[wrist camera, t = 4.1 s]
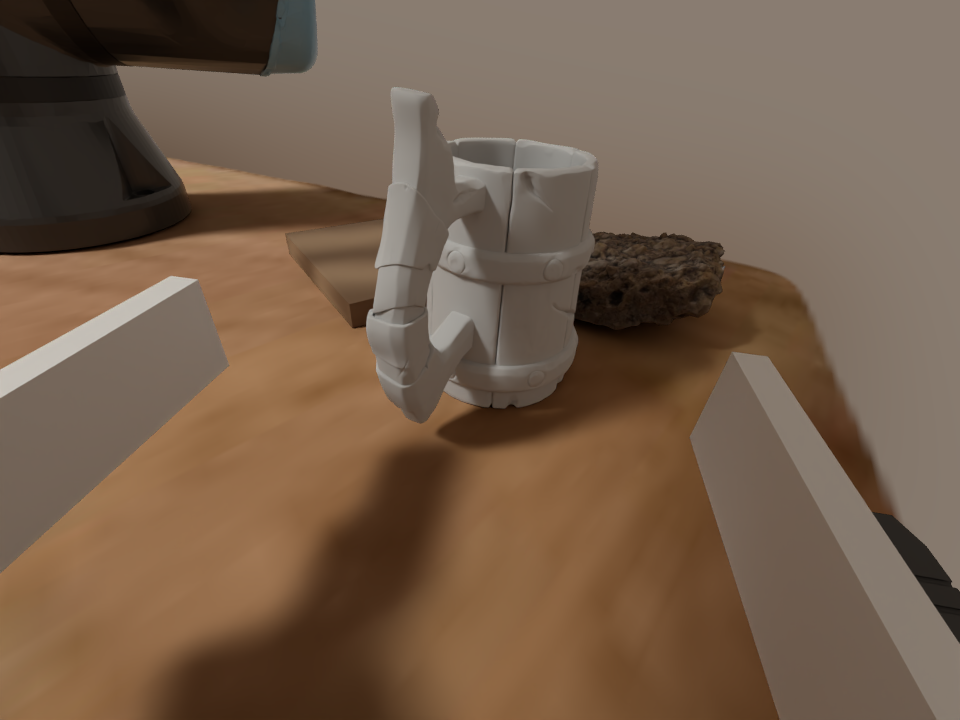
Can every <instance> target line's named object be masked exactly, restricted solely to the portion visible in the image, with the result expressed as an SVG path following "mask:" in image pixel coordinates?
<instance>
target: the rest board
mask: <svg viewBox="0 0 960 720" xmlns="http://www.w3.org/2000/svg"><path fill="white" fill-rule="evenodd" d="M383 222H384V219H379V220H373V221H366V222H359V223H353V224H346V225H339V226H333V227H326V228H320V229H313V230H306V231H300V232H293V233H286V234H285V235H286V240H287V244H288V249H289V254H290V255H291V256H292V257H293V258H294V260H295V261H296V262H297V263H298V264H299V265H300V267H301V268H302V269H303V270H304V271H305V273H306V274H307V275H308V276H309V277H310V278H311V280H312V281H313V282H314V283H315V284H316V285H317V287H318V288H319V289H320V290H321V291H322V293H323V294H324V295H325V296H326V297H327V298H328V300H329V301H330V302H331V303H332V304H333V306H334V307H335V308H336V309H337V310H338V311H339V313H340V314H341V315H342V316H343V317H344V318H345V320H346V321H347V322H348V323H349V324H350V326H351V327H352V328H355V327H358V326H362V325H366V321H367V315H368V312H369V310H370V309H373V304H374V297H375V291H376V284H377V277H378V270H379V269H376V268H375V262H376V258H377V254H378V251H379V247H380V243H381V238H382V231H383ZM425 307H426V308H427V298H426V304H425Z"/></svg>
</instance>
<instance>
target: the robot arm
mask: <svg viewBox="0 0 960 720" xmlns="http://www.w3.org/2000/svg"><path fill="white" fill-rule="evenodd" d="M316 58H317V24H316V9H315V0H0V252H43V251H56V250H67V249H75V248H83V247H90V246H96V245H102V244H108V243H113V242H118V241H122V240H127V239H131V238H135V237H139V236H142V235H146V234H149V233H152V232H155V231H158V230H161V229H164V228H166V227H169V226H171V225H173V224H175V223H177V222H179V221H181V220H182V219H184V218H185V217H186V216H187V215H188V214H189V213H190V212H191V204H190V201H189V198H188V195H187V192H186V189H185V186H184V184H183V182H182V180H181V178H180V177H179V176H178V174H177V173H176V171H175V170H174V168H173V167H172V166H171V164H170V163H169V161H168V160H167V159H166V157H165V156H164V155H163V153H162V151H161V150H160V149H159V147H158V146H157V144H156V143H155V142H154V140H153V139H152V137H151V136H150V134H149V133H148V132H147V130H146V129H145V127H144V126H143V125H142V123H141V122H140V121H139V119H138V118H137V116H136V115H135V113H134V112H133V110H132V108H131V106H130V104H129V101H128V99H127V96H126V94H125V91H124V88H123V86H122V83H121V80H120V78H119V75H118V71H117V68H116V65H117V66H139V67H154V68H168V69H182V70H196V71H211V72H226V73H239V74H255V75H260V76H265V77H266V76H269V75H270V74H282V73H303V72H306V71H308V70H309V69H311V68H312V66H313V65H314V63H315V61H316ZM228 366H229V363H228V360H227V358H226V355H225V352H224V350H223V347H222V344H221V341H220V339H219V336H218V333H217V330H216V328H215V325H214V322H213V319H212V317H211V314H210V311H209V308H208V306H207V303H206V300H205V297H204V295H203V292H202V289H201V287H200V284H199V281H198V280H197V279H190V278H182V277H175V276H170V277H168V278H166V279H164V280H163V281H161V282H159V283H157V284H155V285H154V286H152V287H150V288H148V289H146V290H144V291H143V292H141V293H139V294H137V295H135V296H134V297H132V298H130V299H128V300H126V301H124V302H123V303H121V304H119V305H117V306H115V307H114V308H112V309H110V310H108V311H106V312H104V313H103V314H101V315H99V316H97V317H95V318H93V319H92V320H90V321H88V322H86V323H84V324H83V325H81V326H79V327H77V328H75V329H73V330H72V331H70V332H68V333H66V334H64V335H63V336H61V337H59V338H57V339H55V340H53V341H52V342H50V343H48V344H46V345H44V346H43V347H41V348H39V349H37V350H35V351H33V352H32V353H30V354H28V355H26V356H24V357H23V358H21V359H19V360H17V361H15V362H13V363H12V364H10V365H8V366H6V367H4V368H2V369H1V370H0V573H1V572H2V571H3V570H4V569H6V568H7V567H8V566H9V565H10V564H11V563H12V562H13V561H14V560H16V559H17V558H18V557H19V556H20V555H21V554H22V553H23V552H24V551H25V550H27V549H28V548H29V547H30V546H31V545H32V544H33V543H34V542H35V541H36V540H38V539H39V538H40V537H41V536H42V535H43V534H44V533H45V532H46V531H47V530H49V529H50V528H51V527H52V526H53V525H54V524H55V523H56V522H57V521H58V520H60V519H61V518H62V517H63V516H64V515H65V514H66V513H67V512H68V511H69V510H71V509H72V508H73V507H74V506H75V505H76V504H77V503H78V502H79V501H80V500H82V499H83V498H84V497H85V496H86V495H87V494H88V493H89V492H90V491H92V490H93V489H94V488H95V487H96V486H97V485H98V484H99V483H100V482H101V481H103V480H104V479H105V478H106V477H107V476H108V475H109V474H110V473H111V472H112V471H114V470H115V469H116V468H117V467H118V466H119V465H120V464H121V463H122V462H123V461H125V460H126V459H127V458H128V457H129V456H130V455H131V454H132V453H133V452H134V451H136V450H137V449H138V448H139V447H140V446H141V445H142V444H143V443H144V442H145V441H147V440H148V439H149V438H150V437H151V436H152V435H153V434H154V433H155V432H157V431H158V430H159V429H160V428H161V427H162V426H163V425H164V424H165V423H166V422H168V421H169V420H170V419H171V418H172V417H173V416H174V415H175V414H176V413H177V412H179V411H180V410H181V409H182V408H183V407H184V406H185V405H186V404H187V403H188V402H190V401H191V400H192V399H193V398H194V397H195V396H196V395H197V394H198V393H199V392H201V391H202V390H203V389H204V388H205V387H206V386H207V385H208V384H209V383H210V382H212V381H213V380H214V379H215V378H216V377H217V376H218V375H219V374H220V373H221V372H223V371H224V370H225V369H226V368H227V367H228ZM690 440H691V444H692V447H693V450H694V453H695V456H696V459H697V462H698V465H699V469H700V472H701V475H702V478H703V481H704V484H705V487H706V491H707V494H708V497H709V500H710V503H711V506H712V509H713V513H714V516H715V519H716V522H717V525H718V528H719V531H720V534H721V538H722V541H723V544H724V547H725V550H726V553H727V556H728V560H729V563H730V566H731V569H732V572H733V575H734V578H735V581H736V585H737V588H738V591H739V594H740V597H741V600H742V603H743V607H744V610H745V613H746V616H747V619H748V622H749V625H750V628H751V632H752V635H753V638H754V641H755V644H756V647H757V650H758V654H759V657H760V660H761V663H762V666H763V669H764V672H765V676H766V679H767V682H768V685H769V688H770V691H771V694H772V697H773V701H774V704H775V707H776V710H777V713H778V716H779V719H780V720H960V591H959V590H958V589H957V588H953V587H952V585H951V582H952V581H951V579H950V578H949V576H948V575H947V574H946V572H945V571H944V570H943V568H942V567H941V566H940V564H939V563H938V561H937V560H936V559H935V557H934V556H933V555H932V553H931V552H930V551H929V549H928V548H927V546H925V545H924V544H923V543H922V542H921V541H920V540H919V539H918V538H917V537H915V536H914V535H913V534H912V533H911V532H910V531H909V530H908V529H907V528H905V527H904V526H903V525H902V524H901V523H900V522H899V521H898V520H897V519H895V518H894V517H893V516H892V515H887V514H881V513H875V512H871V510H870V509H869V507H868V506H867V504H866V503H865V501H864V500H863V498H862V497H861V495H860V494H859V492H858V491H857V489H856V488H855V486H854V485H853V483H852V482H851V480H850V479H849V477H848V476H847V474H846V473H845V471H844V470H843V468H842V467H841V465H840V464H839V462H838V461H837V459H836V458H835V456H834V455H833V453H832V452H831V450H830V449H829V447H828V446H827V444H826V443H825V441H824V440H823V438H822V437H821V435H820V434H819V432H818V431H817V429H816V428H815V426H814V425H813V423H812V422H811V420H810V419H809V417H808V416H807V414H806V413H805V411H804V410H803V408H802V407H801V405H800V404H799V402H798V401H797V399H796V398H795V396H794V395H793V393H792V392H791V390H790V389H789V387H788V386H787V384H786V383H785V381H784V380H783V378H782V377H781V375H780V374H779V372H778V371H777V369H776V368H775V366H774V365H773V363H772V362H771V360H770V359H769V357H768V356H760V355H753V354H745V353H738V352H732V353H731V355H730V357H729V359H728V361H727V363H726V365H725V367H724V369H723V371H722V373H721V375H720V377H719V379H718V381H717V383H716V385H715V387H714V389H713V391H712V393H711V395H710V397H709V399H708V401H707V403H706V405H705V407H704V409H703V411H702V413H701V415H700V417H699V419H698V421H697V423H696V425H695V427H694V429H693V431H692V433H691V435H690Z"/></svg>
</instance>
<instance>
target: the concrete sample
mask: <svg viewBox="0 0 960 720" xmlns="http://www.w3.org/2000/svg"><path fill="white" fill-rule="evenodd" d="M592 235H593V236H594V239H595V245H594V251H593V253H592V254H591V256H590V259H589V261H588V263H587V265H586V266H585V268H584V269H582V273H581V278H580V284H579V290H578V297H577V303H576V311H575V313H574V318H575V319H579V320H583V321H587V322H590V323H593V324H597V325H606V326H608V327H610V328H612V329H614V330H617V329H623V328H626V327H630V326H637V325H639V324H640V323H641V322H651V323H656V324H658V325H668V324H670V323H672V320H673V319H676V318H684V317H687V316H693V317H700V316H702V315H703V314H705V313H707V312H708V310H709V309H710V307H711V305H712V301H713V299H714V297H715V295H716V294H720V293H721V292H722V286H721V283H722V282H721V279H722V276H723V272H724V271H723V270H724V268H725V267H724V266H725V265H724V266H723V264H724V263H723V262H722V261H721V260H720V257H721V256H722V255H723V254H724V250H723V247H722V246H721V244H720V243H715V242H694V240H692V239H691V238H689V237H687V236H684V235H675V234H671V235H669V236H667V234H666V233H663V234H661V236H660V237H656V236H655V237H654V236H652V237H645V236H640V235H637V234H635V233H632V234H631V235H628V234H627V235H626V234H619V235H615V234H613V233H606V232H598V233H595V234H592ZM720 282H721V283H720Z"/></svg>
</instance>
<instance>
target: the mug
mask: <svg viewBox="0 0 960 720" xmlns="http://www.w3.org/2000/svg"><path fill="white" fill-rule="evenodd" d="M391 103H392V111H393V117H394V124H395V141H394V153H393V172H392V176H393V177H392V182H393V184H391V185H389V187H388V194H387V202H386V208H385V214H384V222H383V231H382V238H381V243H380V247H379V251H378V254H377V258H376V262H375V268H376V269H379V270H378V277H377V284H376V291H375V297H374V304H373V309H370V310H369V312H368V315H367V321H366V331H367V337H368V341H369V344H370V346H371V348H372V352H373V353H374V354H375V355H376V359H377V363H376V372H377V375H378V378H379V380H380V383H381V386H382V388H383V390H384V392H385V394H386V396H387V397H388V399H389V400H390V401H391V402H393V403H394V404H395V405H396V406H397V407H399V408H401V410H402V412H403V413H404V415H405V416H406V418H408V419H410V420H412V421H415V422H417V423H424V422H425V421H427V420H428V418H429V417H430V415H431V414H432V412H433V411H434V409H435V408H436V406H437V404H438V402H439V399H440V397H441V395H442V393H443V391H444V392H446V393H447V394H449V395H450V396H452V397H454V398H456V399H458V400H460V401H462V402H465V403H469V404H472V405H477V406H481V407H489V406H490V405H491V403H492V407H493V408H503V409H505V408H506V407H507V406H508V405H509V404H513V405H514V406H516V407H523V406H527V405H531V404H534V403H536V402H539V401H541V400H543V399H544V398H546V397H548V396H549V395H551V394H552V393H553V392H554V391H555V389H556V386H557V383H559V382H560V381H562V379H563V376H564V374H565V372H566V371H567V370H568V369H569V367H570V366H571V364H572V362H573V360H574V357H575V353H576V348H577V345H578V335H577V334H576V330H575V328H574V326H573V322H574V313H575V311H576V303H577V297H578V290H579V284H580V278H581V273H582V269H584V268H585V266H586V265H587V263H588V261H589V259H590V256H591V254H592V253H593V251H594V245H595V239H594V236H593V235H592V232H591V230H590V229H589V225H590V219H591V213H592V208H593V201H594V196H595V190H596V184H597V178H598V162H597V159H596V158H595V157H594V156H593V155H592V154H591V153H588V152H585V151H580V150H579V149H576V148H572V147H567V146H559V145H552V144H546V143H540V142H536V141H531V140H524V139H519V140H518V141H517V143H516V142H515V140H514V139H510V138H462V139H456V140H454V141H446V140H445V138H444V136H443V134H442V133H441V131H440V130H439V128H438V127H437V126H436V123H437V119H438V115H439V109H438V106H437V104H436V101H435V99H434V97H433V96H432V95H431V94H428V93H425V92H421V91H417V90H413V89H407V88H400V87H393V88H392V90H391ZM426 298H427V308H426V307H425V304H426Z"/></svg>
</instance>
